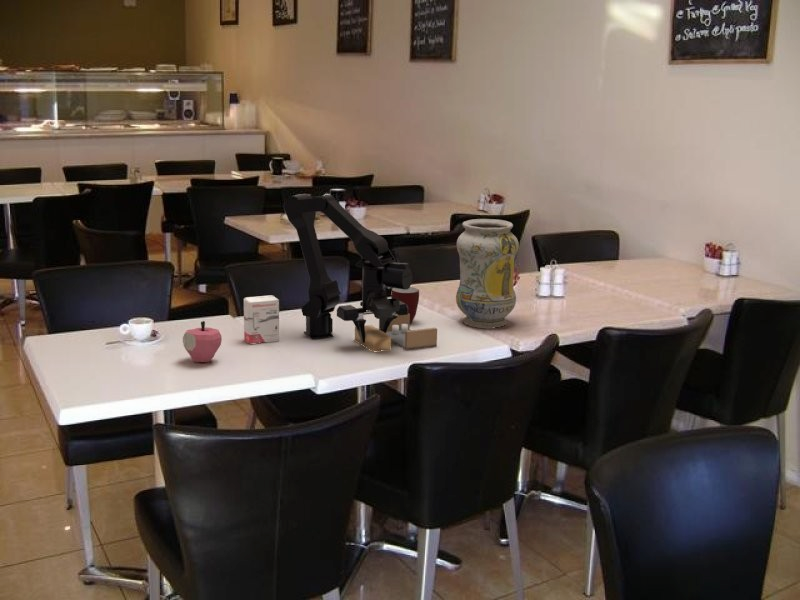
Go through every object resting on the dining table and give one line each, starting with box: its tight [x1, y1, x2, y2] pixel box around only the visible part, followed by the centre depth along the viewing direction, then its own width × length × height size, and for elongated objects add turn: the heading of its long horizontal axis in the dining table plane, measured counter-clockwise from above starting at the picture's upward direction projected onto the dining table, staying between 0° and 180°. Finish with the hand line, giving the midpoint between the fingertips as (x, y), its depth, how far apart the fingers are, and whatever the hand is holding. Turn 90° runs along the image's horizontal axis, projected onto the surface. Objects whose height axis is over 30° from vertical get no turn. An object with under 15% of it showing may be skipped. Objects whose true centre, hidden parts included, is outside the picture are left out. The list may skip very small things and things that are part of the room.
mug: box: [390, 286, 420, 324], centre depth 262 cm, size 11×8×10 cm
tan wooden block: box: [354, 324, 392, 353], centre depth 241 cm, size 5×12×4 cm, turn 27°
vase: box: [455, 218, 520, 330], centre depth 262 cm, size 18×18×30 cm
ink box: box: [243, 294, 280, 344], centre depth 242 cm, size 9×5×12 cm, turn 118°
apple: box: [182, 320, 223, 363], centre depth 223 cm, size 10×9×10 cm
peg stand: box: [386, 313, 438, 351], centre depth 246 cm, size 9×17×5 cm, turn 26°
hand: (372, 341), depth 241 cm, fingers closed on tan wooden block, 5 cm apart
